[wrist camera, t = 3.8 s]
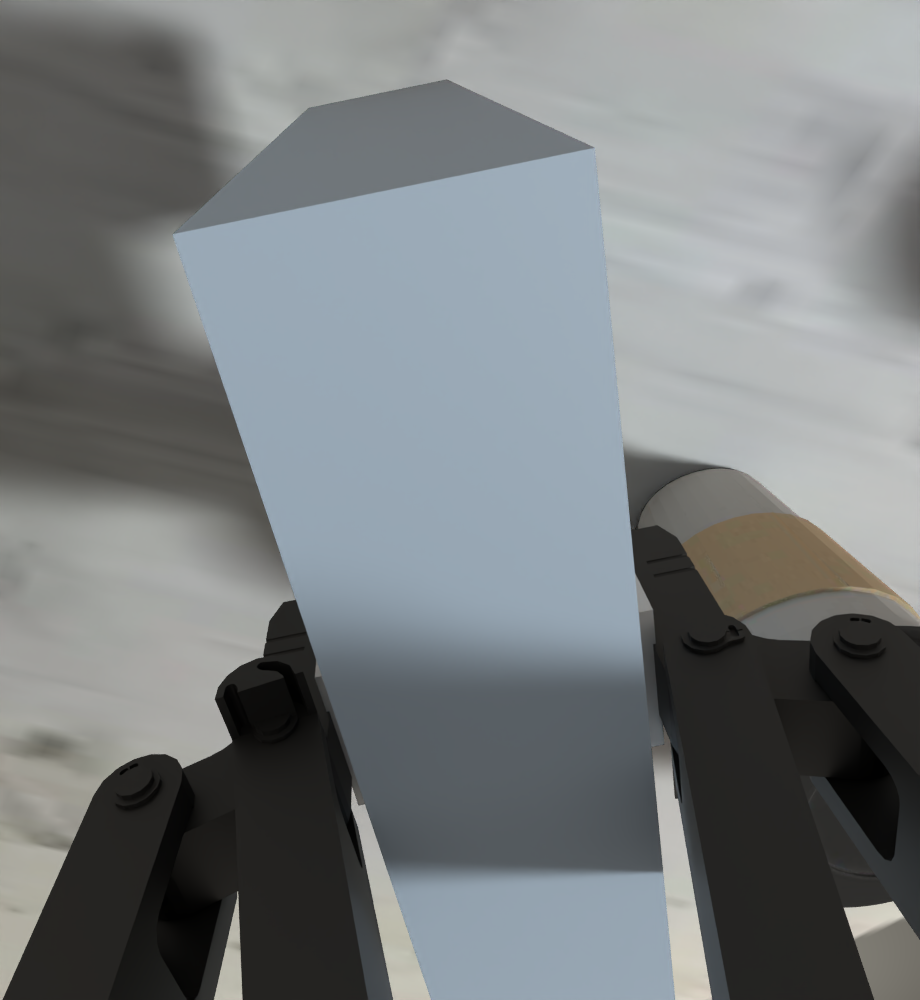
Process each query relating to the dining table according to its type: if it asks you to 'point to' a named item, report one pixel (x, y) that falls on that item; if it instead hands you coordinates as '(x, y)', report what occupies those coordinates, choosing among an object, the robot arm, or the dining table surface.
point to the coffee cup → (779, 600)
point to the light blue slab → (455, 519)
